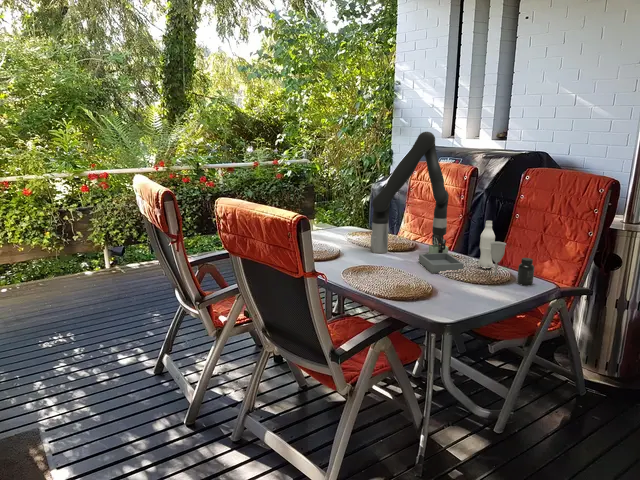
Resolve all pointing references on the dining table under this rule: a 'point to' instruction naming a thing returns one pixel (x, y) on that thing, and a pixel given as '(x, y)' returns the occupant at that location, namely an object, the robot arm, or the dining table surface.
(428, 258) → the grey tray
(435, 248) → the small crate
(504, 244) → the chalice
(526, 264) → the supplement bottle
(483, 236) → the water bottle
